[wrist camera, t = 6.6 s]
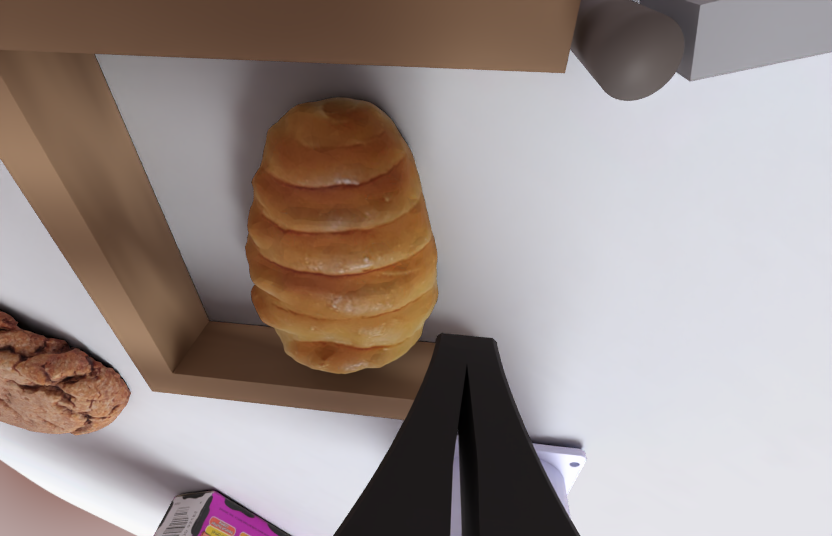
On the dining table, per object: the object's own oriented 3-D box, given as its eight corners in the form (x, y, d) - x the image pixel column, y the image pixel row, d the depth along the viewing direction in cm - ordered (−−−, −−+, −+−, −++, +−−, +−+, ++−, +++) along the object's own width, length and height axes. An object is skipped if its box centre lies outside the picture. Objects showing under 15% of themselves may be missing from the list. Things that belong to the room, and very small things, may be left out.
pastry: (235, 80, 13) (160, 124, 10) (457, 96, 12) (452, 148, 9) (284, 304, 18) (247, 374, 15) (435, 320, 18) (427, 395, 15)
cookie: (151, 421, 27) (121, 467, 25) (-11, 389, 27) (-57, 432, 24) (104, 317, 21) (57, 366, 18) (-108, 274, 21) (-183, 318, 18)
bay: (522, 373, 19) (531, 458, 16) (189, 339, 20) (137, 411, 17) (633, -26, 10) (707, -9, 7) (2, -40, 11) (-184, -30, 8)
